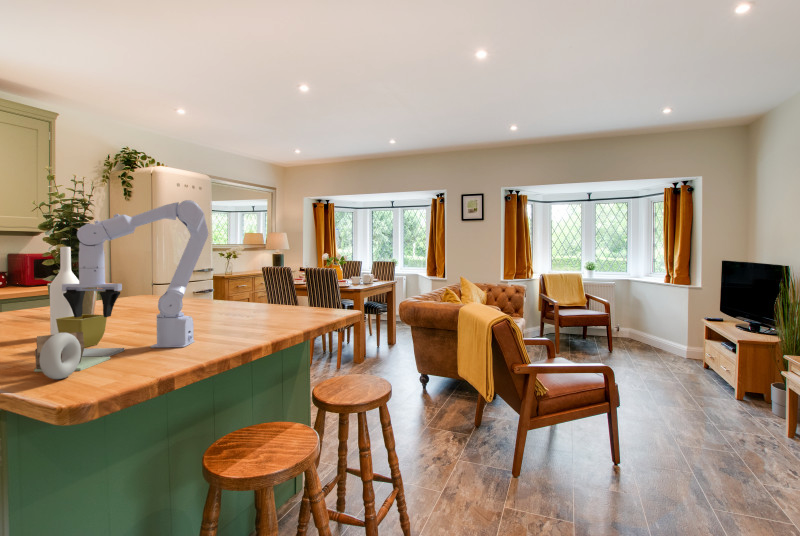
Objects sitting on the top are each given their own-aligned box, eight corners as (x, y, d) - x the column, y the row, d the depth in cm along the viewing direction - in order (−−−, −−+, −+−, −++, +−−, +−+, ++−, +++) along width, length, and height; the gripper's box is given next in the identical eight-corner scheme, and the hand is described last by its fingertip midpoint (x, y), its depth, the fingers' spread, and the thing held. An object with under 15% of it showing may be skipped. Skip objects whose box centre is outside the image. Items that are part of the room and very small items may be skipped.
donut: (68, 372, 92) (68, 329, 92) (85, 371, 92) (84, 328, 92) (35, 385, 82) (34, 337, 82) (53, 385, 83) (53, 336, 82)
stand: (124, 350, 114) (124, 335, 114) (102, 359, 104) (102, 342, 104) (67, 351, 113) (67, 336, 112) (40, 360, 103) (40, 343, 103)
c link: (80, 362, 98) (78, 348, 100) (84, 347, 93) (82, 331, 95) (36, 369, 92) (35, 353, 94) (38, 352, 87) (37, 336, 89)
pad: (110, 359, 104) (110, 356, 104) (80, 370, 93) (80, 368, 93) (69, 359, 103) (69, 357, 103) (34, 371, 92) (34, 369, 92)
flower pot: (80, 350, 114) (79, 319, 114) (55, 349, 116) (54, 318, 116) (108, 344, 123) (108, 315, 122) (84, 343, 124) (84, 314, 124)
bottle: (56, 341, 126) (54, 246, 126) (46, 338, 131) (44, 246, 130) (86, 337, 133) (85, 247, 133) (76, 335, 137) (75, 247, 137)
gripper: (128, 267, 116) (128, 314, 116) (74, 267, 115) (75, 315, 115) (112, 268, 109) (113, 318, 109) (55, 268, 108) (56, 318, 108)
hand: (92, 316), depth 112 cm, fingers open, 7 cm apart
